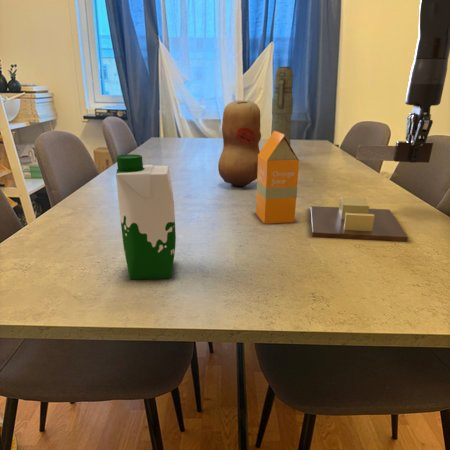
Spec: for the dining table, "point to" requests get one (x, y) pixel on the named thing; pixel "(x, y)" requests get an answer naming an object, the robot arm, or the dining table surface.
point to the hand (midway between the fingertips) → (411, 160)
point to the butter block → (353, 206)
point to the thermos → (282, 101)
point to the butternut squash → (240, 143)
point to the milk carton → (146, 217)
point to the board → (334, 228)
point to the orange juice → (277, 181)
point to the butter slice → (359, 222)
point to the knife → (393, 152)
